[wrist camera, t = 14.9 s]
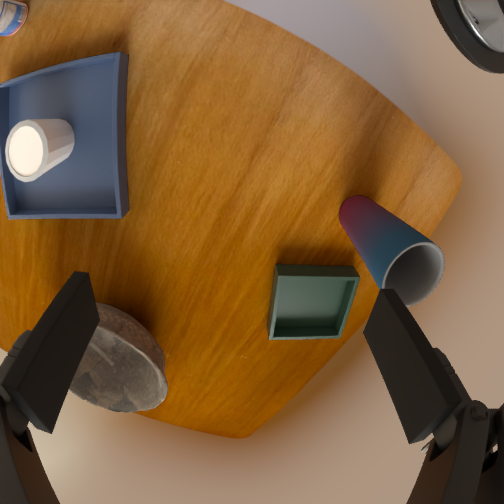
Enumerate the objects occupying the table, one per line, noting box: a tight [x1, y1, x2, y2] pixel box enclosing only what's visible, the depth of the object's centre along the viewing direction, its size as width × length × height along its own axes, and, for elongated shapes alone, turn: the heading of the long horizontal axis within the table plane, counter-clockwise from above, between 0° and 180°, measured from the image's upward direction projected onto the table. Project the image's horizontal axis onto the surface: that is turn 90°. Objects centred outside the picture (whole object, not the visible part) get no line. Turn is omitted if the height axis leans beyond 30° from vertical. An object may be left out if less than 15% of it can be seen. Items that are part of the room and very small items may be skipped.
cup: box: [339, 195, 445, 307], centre depth 29 cm, size 7×7×15 cm
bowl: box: [69, 303, 168, 412], centre depth 39 cm, size 21×21×10 cm
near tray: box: [0, 52, 129, 219], centre depth 28 cm, size 19×19×3 cm
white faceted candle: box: [5, 119, 75, 182], centre depth 25 cm, size 7×7×7 cm
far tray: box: [267, 264, 360, 340], centre depth 41 cm, size 11×11×3 cm
